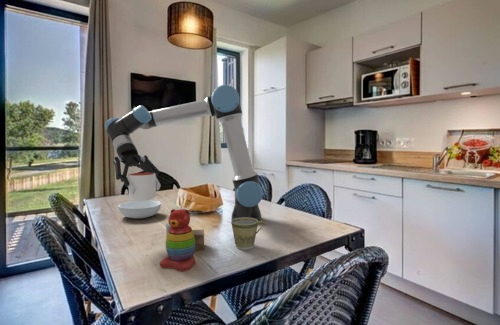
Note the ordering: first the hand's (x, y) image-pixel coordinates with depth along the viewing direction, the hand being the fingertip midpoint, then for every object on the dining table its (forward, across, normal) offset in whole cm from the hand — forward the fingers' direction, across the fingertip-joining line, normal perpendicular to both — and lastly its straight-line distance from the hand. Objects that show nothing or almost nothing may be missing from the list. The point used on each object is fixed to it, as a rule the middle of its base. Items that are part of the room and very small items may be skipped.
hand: (146, 189), depth 113 cm
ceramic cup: (+38, -23, +8) cm, 45 cm away
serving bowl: (-13, -18, -43) cm, 48 cm away
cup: (+1, 0, -5) cm, 5 cm away
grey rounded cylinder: (+19, -8, -10) cm, 23 cm away
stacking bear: (+33, +3, +3) cm, 33 cm away
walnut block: (+28, -9, -2) cm, 29 cm away
